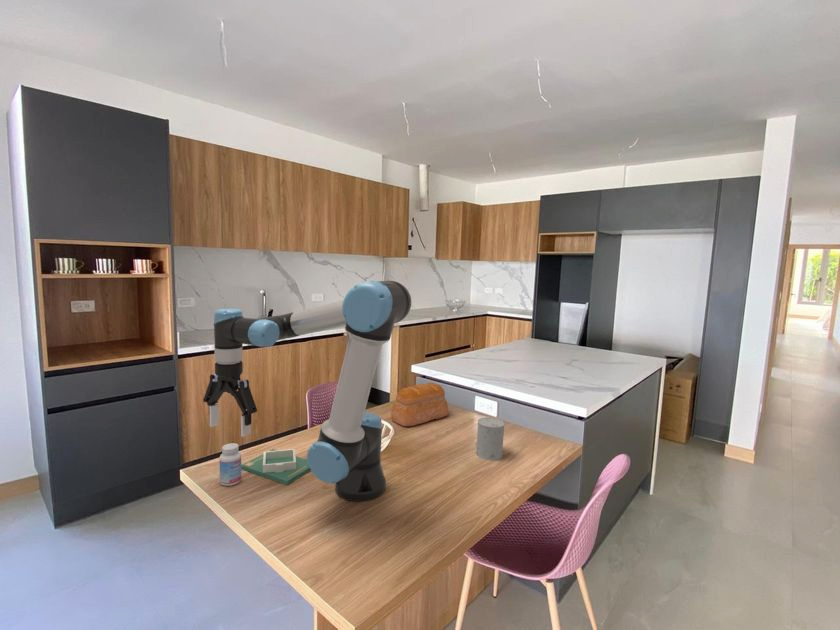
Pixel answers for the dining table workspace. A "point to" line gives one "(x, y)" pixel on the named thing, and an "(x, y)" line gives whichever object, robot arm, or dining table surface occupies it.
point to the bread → (419, 404)
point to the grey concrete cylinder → (490, 438)
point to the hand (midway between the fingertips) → (229, 430)
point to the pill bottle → (230, 465)
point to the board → (278, 475)
